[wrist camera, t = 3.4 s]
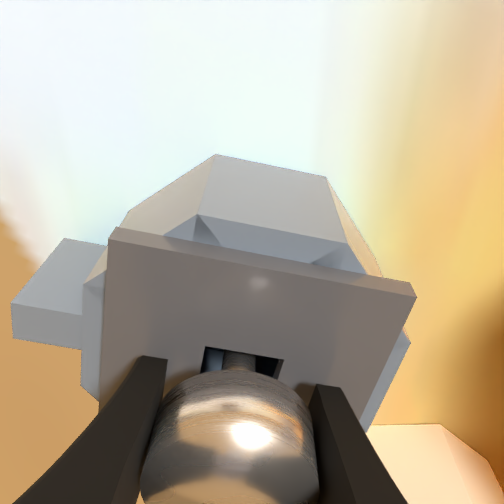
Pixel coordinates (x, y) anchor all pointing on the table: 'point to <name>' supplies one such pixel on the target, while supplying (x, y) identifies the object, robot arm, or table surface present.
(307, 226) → the gray faceted block
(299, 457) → the metal bulb with stem
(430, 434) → the cream boxy piece
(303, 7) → the table surface
